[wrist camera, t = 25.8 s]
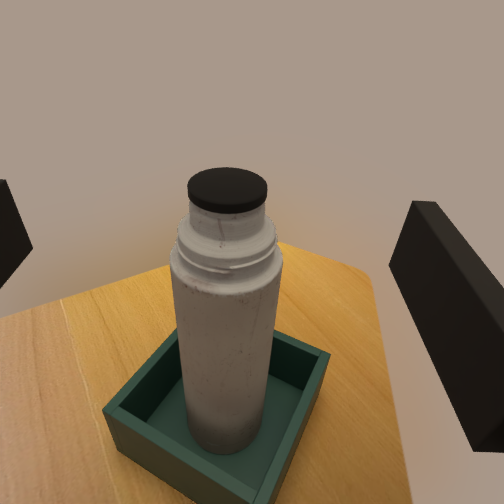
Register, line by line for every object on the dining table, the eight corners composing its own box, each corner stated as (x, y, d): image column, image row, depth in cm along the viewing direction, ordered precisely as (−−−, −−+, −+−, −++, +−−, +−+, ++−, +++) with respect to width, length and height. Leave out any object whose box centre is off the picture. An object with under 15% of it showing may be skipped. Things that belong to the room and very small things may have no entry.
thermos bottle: (205, 375, 43) (194, 147, 26) (269, 395, 41) (303, 166, 24) (174, 440, 37) (134, 197, 20) (249, 466, 35) (275, 227, 18)
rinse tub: (318, 394, 42) (331, 353, 38) (257, 544, 31) (264, 512, 26) (204, 340, 48) (203, 298, 43) (117, 450, 36) (101, 409, 32)
